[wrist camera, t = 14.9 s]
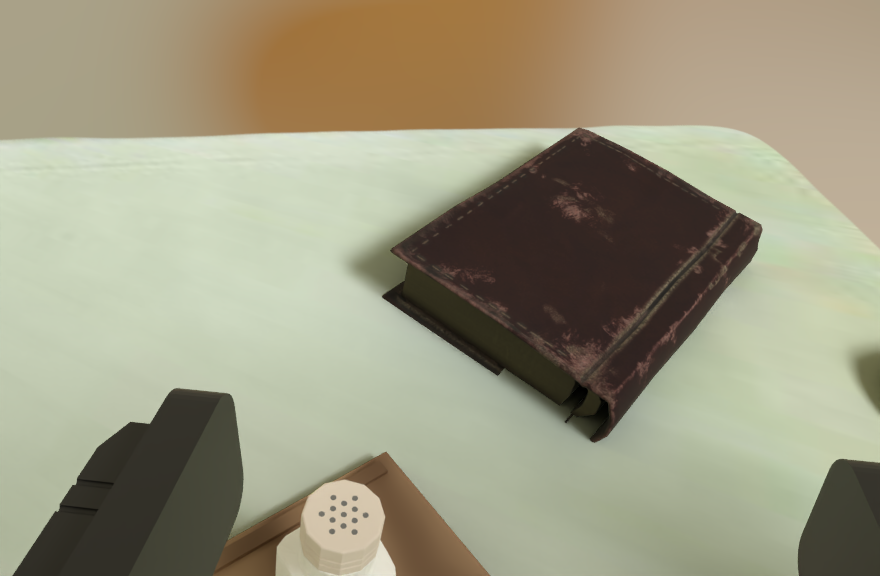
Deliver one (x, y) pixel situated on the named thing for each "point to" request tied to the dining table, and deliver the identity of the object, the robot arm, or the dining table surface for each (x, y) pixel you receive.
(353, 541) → the salt shaker
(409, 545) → the walnut board
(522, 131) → the dining table surface
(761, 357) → the dining table surface
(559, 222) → the diary
